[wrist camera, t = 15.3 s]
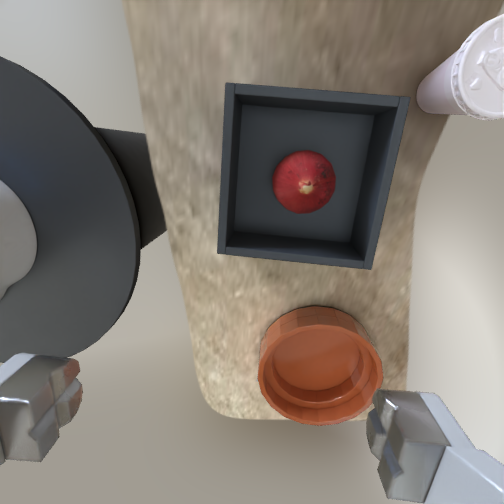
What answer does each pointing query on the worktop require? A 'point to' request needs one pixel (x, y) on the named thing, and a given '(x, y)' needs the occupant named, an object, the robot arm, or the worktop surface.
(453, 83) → the smoothie
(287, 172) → the pomegranate
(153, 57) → the worktop surface
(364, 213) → the bin
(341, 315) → the bowl
